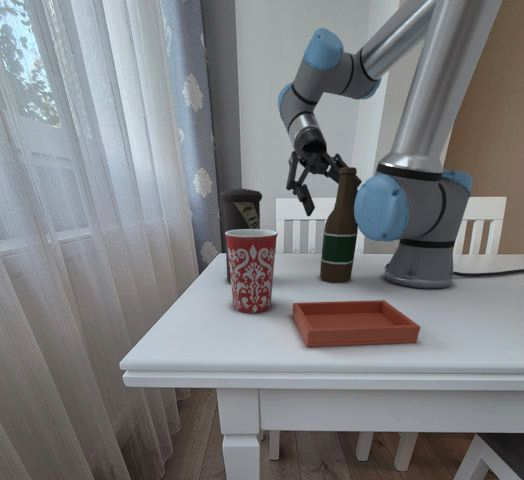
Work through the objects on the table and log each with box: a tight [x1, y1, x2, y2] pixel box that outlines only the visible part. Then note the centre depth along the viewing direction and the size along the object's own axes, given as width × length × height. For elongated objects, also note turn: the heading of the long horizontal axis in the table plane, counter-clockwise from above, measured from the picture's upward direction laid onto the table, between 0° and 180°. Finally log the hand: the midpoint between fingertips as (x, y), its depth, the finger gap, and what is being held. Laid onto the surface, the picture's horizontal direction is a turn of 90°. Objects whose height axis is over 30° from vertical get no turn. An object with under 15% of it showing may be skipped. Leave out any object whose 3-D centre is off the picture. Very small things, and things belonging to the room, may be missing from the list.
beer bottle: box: [319, 166, 359, 284], centre depth 68 cm, size 8×8×24 cm
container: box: [219, 188, 263, 284], centre depth 68 cm, size 9×9×20 cm
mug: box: [224, 228, 279, 314], centre depth 55 cm, size 13×9×14 cm
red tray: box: [291, 299, 421, 348], centre depth 47 cm, size 17×12×3 cm
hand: (336, 211), depth 69 cm, fingers open, 13 cm apart
